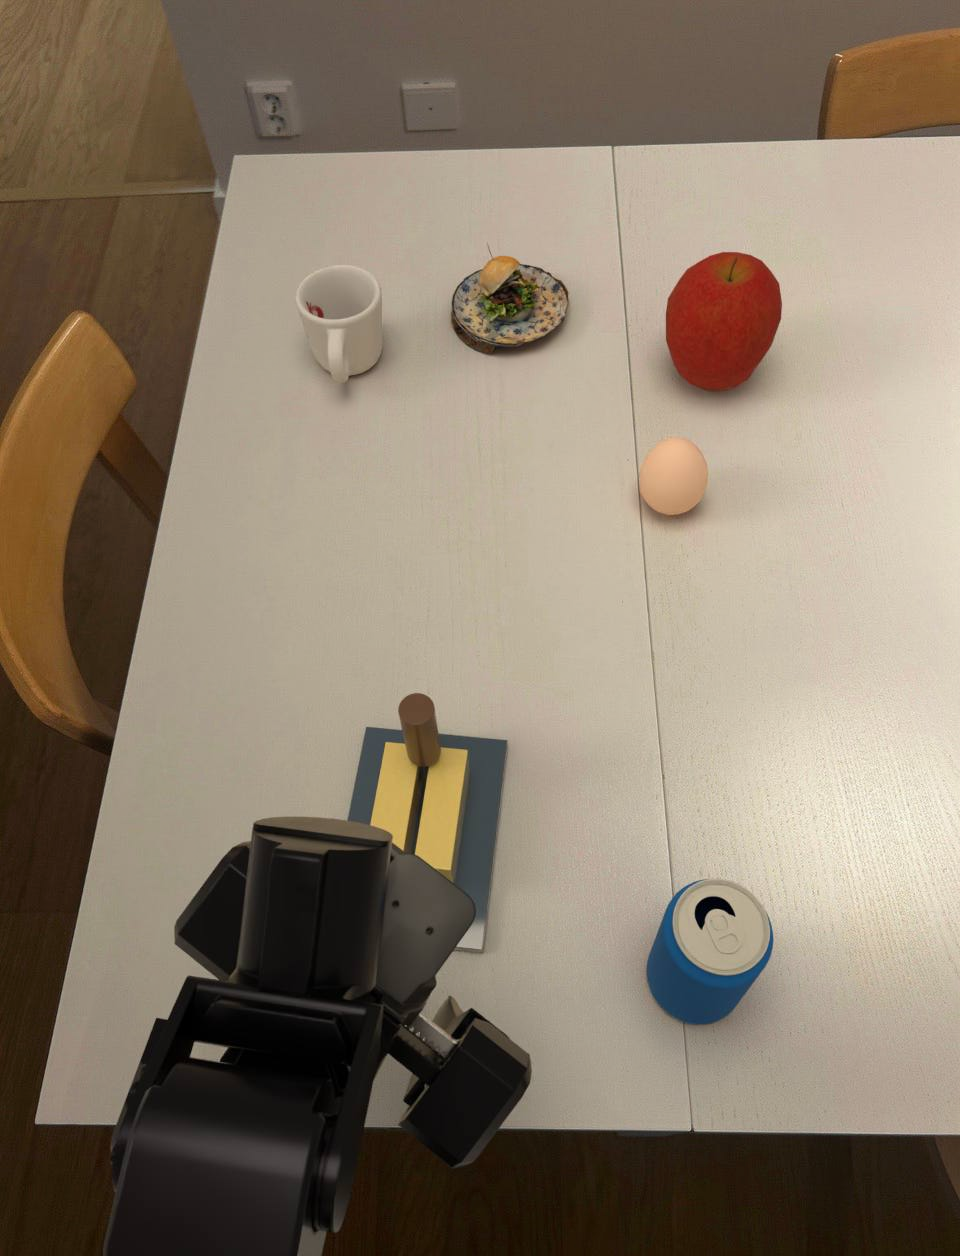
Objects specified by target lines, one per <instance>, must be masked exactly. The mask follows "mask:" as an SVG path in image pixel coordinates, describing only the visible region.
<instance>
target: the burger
mask: <svg viewBox="0 0 960 1256" xmlns="http://www.w3.org/2000/svg"><path fill="white" fill-rule="evenodd" d="M486 246H487V249H488V252H489V255H490V256H491V259H490V260H488V261H487V262H486V263H485V265H484V266H483V268H481V269H478V270H476V271H474V272H472V273H471V274H470V275H467V276H466V277H464V278H463V280H462V281H460V282H459V284H458V285H457V286H456V288H455V289H454V290H455V291H453V294H452V297H451V298H452V299H451V313H450V315H451V316H450V317H451V323H452V327H453V330H454V331H455V333H456V334H457V335H458V337H459V338H460V339H461V340H462V341H463V342H464V343H465V344H466V345H468V346H470V347H471V348H472V349H477V350H480V351H481V352H482V353H485V354H487V355H490V354H492V353H493V351H494V350H495V347H506V348H510V347H513V348H516V347H519V346H521V345H523V344H527V343H531V342H535V341H538V340H540V339H542V338H543V337H545V336H547V335H548V334H550V333H551V332H552V331H554V330H555V329H556V328H557V327H558V326H559V325H560V324H562V323H563V322H564V321H565V317H566V315H567V313H566V312H567V310H568V307H569V304H570V300H569V295H570V293H569V290H568V288H567V286H566V285H565V284H564V282H563V280H561V279H558V278H556V277H554V276H553V275H552V273H551V272H549V271H545V270H544V269H543V268H542V267H539V266H538V267H537V266H534V265H530V264H522V263H521V262H520V261H518V259H516V258H515V257H513V256H509V255H498V256H494V257H493V255H492V252H491V250H490V246H489V244H488V243H486Z"/></svg>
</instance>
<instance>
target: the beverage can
mask: <svg viewBox="0 0 960 1256" xmlns="http://www.w3.org/2000/svg"><path fill="white" fill-rule="evenodd" d="M770 919H771V918H770V917H769V915H768V912H767V910H766V909H765V907H764V906H763V904H762V902H761V901H760V900H759V899H758V897H757V896H756V895H755V894H754V893H753V892H751V890H749V889H748V888H746V887H745V886H744V885H742V884H739V883H737V882H735V881H732V880H729V879H724V878H723V879H722V878H704V879H700V880H697V881H693V882H691V883H688V884H687V885H685V886H684V887H682V888H680V890H678V891H677V892H676V893H675V894H674V895H673V897H672V898H671V899H670V901H669V902H668V904H667V906H666V908H665V911H664V914H663V917H662V919H661V921H660V925H659V927H658V930H657V932H656V936H655V938H654V941H653V943H652V946H651V949H650V951H649V954H648V957H647V961H646V980H647V984H648V987H649V990H650V993H651V994H652V996H653V998H654V1000H655V1001H656V1003H657V1004H658V1005H659V1006H660V1008H662V1010H663V1011H665V1012H666V1013H667V1014H668V1015H670V1016H671V1017H672V1018H675V1019H676V1020H678V1021H680V1022H683V1023H686V1024H690V1025H709V1024H714V1023H716V1022H719V1021H721V1020H723V1019H724V1018H726V1017H727V1016H728V1015H730V1014H731V1013H732V1012H733V1011H734V1010H735V1008H736V1007H737V1005H738V1004H739V1003H740V1002H741V1000H742V999H743V998H744V996H745V995H746V994H747V992H748V991H749V989H750V988H751V987H752V985H753V984H754V983H755V981H756V980H757V979H758V978H759V976H760V975H761V974H762V973H763V971H764V969H765V968H766V967H767V965H768V963H769V961H770V959H771V956H772V952H773V948H774V930H773V926H772V925H773V924H772V922H771V920H770Z"/></svg>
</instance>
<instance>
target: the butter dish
mask: <svg viewBox="0 0 960 1256" xmlns="http://www.w3.org/2000/svg"><path fill="white" fill-rule="evenodd" d="M438 734H439V740H440V747H441V754H440V757H439V759H438V760H437V761H436V762H435V763H434V764H432V765H430V766H429V769H428V775H427V782H426V781H425V775H424V770H423V767H421V766H417V765H415V764H413V763H412V762H411V761H410V760H409V758H408V755H407V750H406V745H405V741H404V736H403V731H402V729H394V728H384V727H374V726H365V729H364V735H363V740H362V746H361V750H360V755H359V760H358V766H357V771H356V776H355V780H354V785H353V790H352V795H351V800H350V806H349V811H348V814H347V820H346V821H352V822H358V823H363V824H367V825H371V826H375V827H378V828H381V829H384V830H386V831H388V832H390V833H391V834H392V835H393V839H392V842H393V843H394V844H395V845H396V846H398V847H399V848H400V849H402V850H403V851H404V852H406V853H412V854H415V855H417V856H419V857H420V858H422V859H423V860H424V861H426V862H427V863H428V864H429V865H431V866H432V867H433V868H435V869H436V870H437V871H438V872H440V873H441V874H442V875H444V876H445V877H446V878H448V879H449V880H450V881H451V882H453V883H454V884H455V885H457V886H458V887H459V888H460V889H462V890H463V891H464V892H466V893H467V894H468V895H469V896H470V897H471V898H472V900H473V902H474V904H475V907H476V916H475V919H474V922H473V924H472V925H471V927H470V928H469V929H468V931H467V932H466V934H465V935H464V936H463V938H462V939H461V941H460V942H459V943H458V945H457V946H456V948H455V949H454V950H453V951H458V952H459V951H461V952H470V953H478V954H483V953H484V947H485V937H486V928H487V920H488V913H489V903H490V896H491V887H492V879H493V871H494V863H495V862H494V861H495V855H496V846H497V845H496V844H497V837H498V827H499V823H500V822H499V821H500V814H501V813H500V812H501V803H502V797H503V796H502V795H503V787H504V779H505V772H506V771H505V770H506V762H507V754H508V748H509V747H508V746H509V743H508V742H509V741H508V740H507V739H500V738H488V737H479V736H468V735H459V734H458V735H457V734H447V733H438Z"/></svg>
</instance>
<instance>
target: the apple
mask: <svg viewBox="0 0 960 1256" xmlns="http://www.w3.org/2000/svg"><path fill="white" fill-rule="evenodd" d="M782 311H783V300H782V293H781V287H780V282H779V281H778V279H777V278H776V276H775V274H774V273H773V271H772V270H771V269H770V268H769V267H768V265H766V263H764V262H763V260H761V259H759V258H758V257H755V256H754V255H752V254H748V253H743V252H738V251H722V252H719V253H713V254H710V255H708V256H707V257H705V258H703V259H702V260H699V261H698V262H696V263H694V264H693V265H691V266H690V267H688V268H686V270H685V271H684V272H683V274H682V275H681V276H680V278H679V279H678V281H677V282H676V284H675V286H674V287H673V289H672V290H671V292H670V294H669V296H668V297H667V302H666V310H665V343H666V346H667V349H668V352H669V354H670V358H671V361H672V364H673V366H674V368H675V369H676V371H677V372H678V374H679V376H680V377H681V378H683V380H685V381H686V382H688V384H690V385H692V386H695V387H697V388H700V389H703V390H705V391H715V392H717V391H724V390H729V389H733V388H734V389H735V388H738V387H739V386H741V385H742V384H744V383H745V382H746V381H748V380H749V379H750V377H751V376H752V375H753V373H754V371H756V369H757V367H758V366H759V365H760V363H761V362H762V361H763V359H764V358H765V356H766V355H767V354H768V352H769V350H770V349H771V348H772V346H773V343H774V340H775V337H776V334H777V331H778V329H779V326H780V324H781V320H782Z"/></svg>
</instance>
